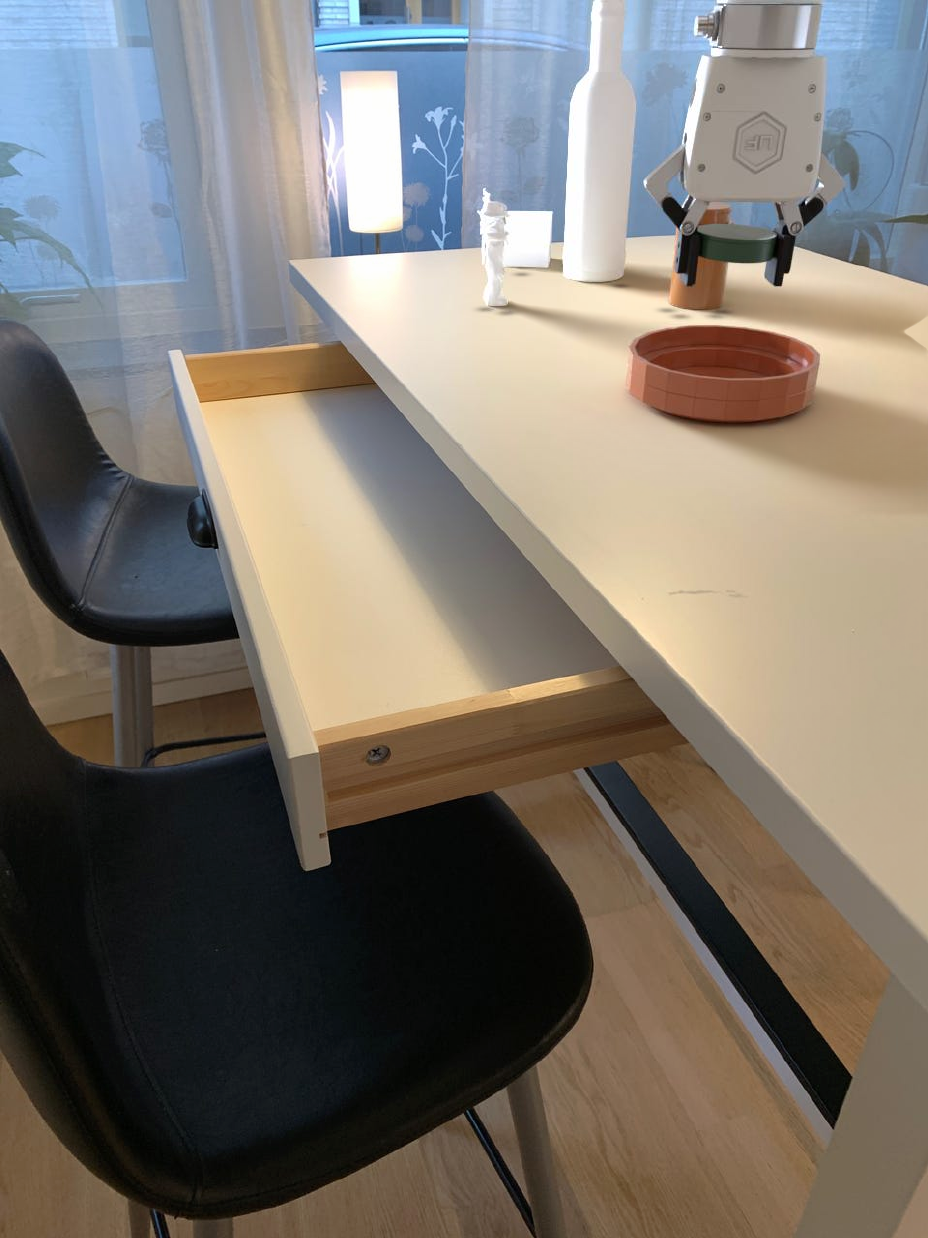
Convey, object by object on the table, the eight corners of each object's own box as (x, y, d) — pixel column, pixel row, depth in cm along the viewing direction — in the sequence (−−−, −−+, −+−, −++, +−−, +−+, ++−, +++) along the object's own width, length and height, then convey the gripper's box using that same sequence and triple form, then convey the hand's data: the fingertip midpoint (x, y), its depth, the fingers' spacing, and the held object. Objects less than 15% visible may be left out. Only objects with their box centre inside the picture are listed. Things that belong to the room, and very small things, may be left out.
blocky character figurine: (475, 292, 119) (475, 185, 113) (508, 291, 119) (509, 184, 113) (479, 312, 112) (479, 198, 105) (514, 311, 112) (516, 198, 105)
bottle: (550, 277, 126) (560, -1, 110) (580, 265, 131) (594, -1, 115) (606, 285, 122) (625, -1, 106) (634, 273, 127) (657, -1, 111)
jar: (711, 294, 117) (723, 199, 112) (731, 308, 112) (744, 208, 107) (661, 297, 117) (671, 201, 111) (679, 310, 111) (689, 210, 106)
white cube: (503, 266, 131) (503, 218, 128) (507, 257, 136) (507, 210, 133) (548, 267, 130) (550, 219, 127) (550, 257, 135) (552, 211, 132)
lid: (677, 246, 83) (680, 224, 82) (744, 244, 85) (748, 222, 84) (718, 264, 78) (722, 241, 77) (788, 261, 80) (793, 238, 79)
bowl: (782, 366, 94) (789, 324, 92) (836, 427, 80) (846, 379, 78) (615, 367, 94) (618, 325, 92) (640, 428, 81) (645, 380, 78)
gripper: (656, 34, 70) (632, 293, 79) (901, 35, 70) (848, 294, 79) (640, 32, 76) (620, 272, 85) (864, 32, 76) (819, 272, 85)
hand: (730, 280), depth 82 cm, fingers closed on lid, 6 cm apart
